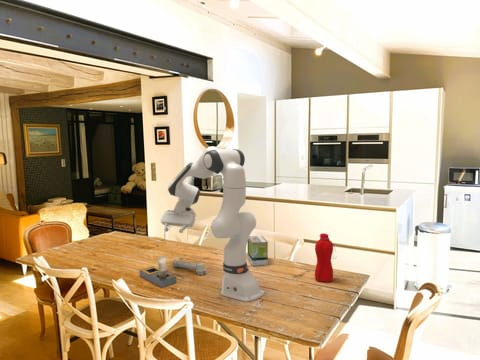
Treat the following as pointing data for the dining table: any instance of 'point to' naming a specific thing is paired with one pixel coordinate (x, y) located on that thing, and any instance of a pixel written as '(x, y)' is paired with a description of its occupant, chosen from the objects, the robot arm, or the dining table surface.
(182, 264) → the grey long bar
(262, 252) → the tea box
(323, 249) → the water bottle
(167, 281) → the grey peg hole block
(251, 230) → the robot arm
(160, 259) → the peg
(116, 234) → the dining table surface
